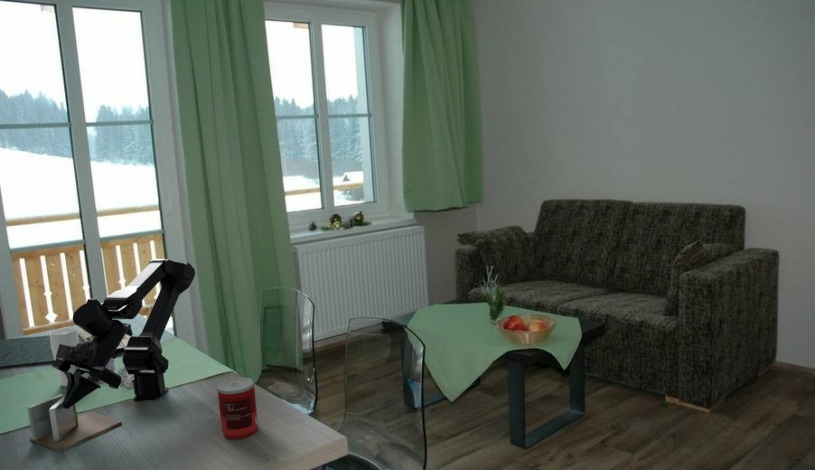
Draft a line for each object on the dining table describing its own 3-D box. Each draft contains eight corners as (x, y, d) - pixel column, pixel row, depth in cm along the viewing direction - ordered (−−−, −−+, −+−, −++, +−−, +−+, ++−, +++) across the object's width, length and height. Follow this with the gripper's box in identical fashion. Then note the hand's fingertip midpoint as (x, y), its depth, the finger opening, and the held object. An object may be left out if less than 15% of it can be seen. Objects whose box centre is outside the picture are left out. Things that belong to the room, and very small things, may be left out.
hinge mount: (91, 414, 155) (86, 380, 153) (121, 424, 148) (116, 388, 147) (30, 440, 143) (24, 403, 141) (59, 452, 136) (53, 414, 135)
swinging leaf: (70, 425, 147) (65, 394, 146) (75, 425, 147) (71, 394, 146) (54, 441, 139) (48, 409, 138) (59, 441, 139) (54, 408, 138)
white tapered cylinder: (73, 388, 172) (65, 334, 169) (51, 388, 173) (43, 334, 171) (90, 379, 178) (82, 327, 176) (69, 378, 180) (61, 326, 177)
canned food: (243, 420, 147) (238, 374, 145) (266, 429, 141) (261, 381, 140) (214, 433, 141) (209, 386, 139) (237, 443, 136) (231, 394, 134)
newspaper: (78, 336, 222) (76, 326, 221) (116, 327, 229) (115, 318, 229) (101, 361, 194) (100, 350, 193) (144, 351, 201) (143, 340, 201)
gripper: (53, 323, 148) (11, 386, 141) (101, 332, 138) (58, 401, 131) (91, 345, 156) (52, 406, 149) (138, 355, 146) (100, 421, 139)
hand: (64, 408), depth 141 cm, fingers closed
